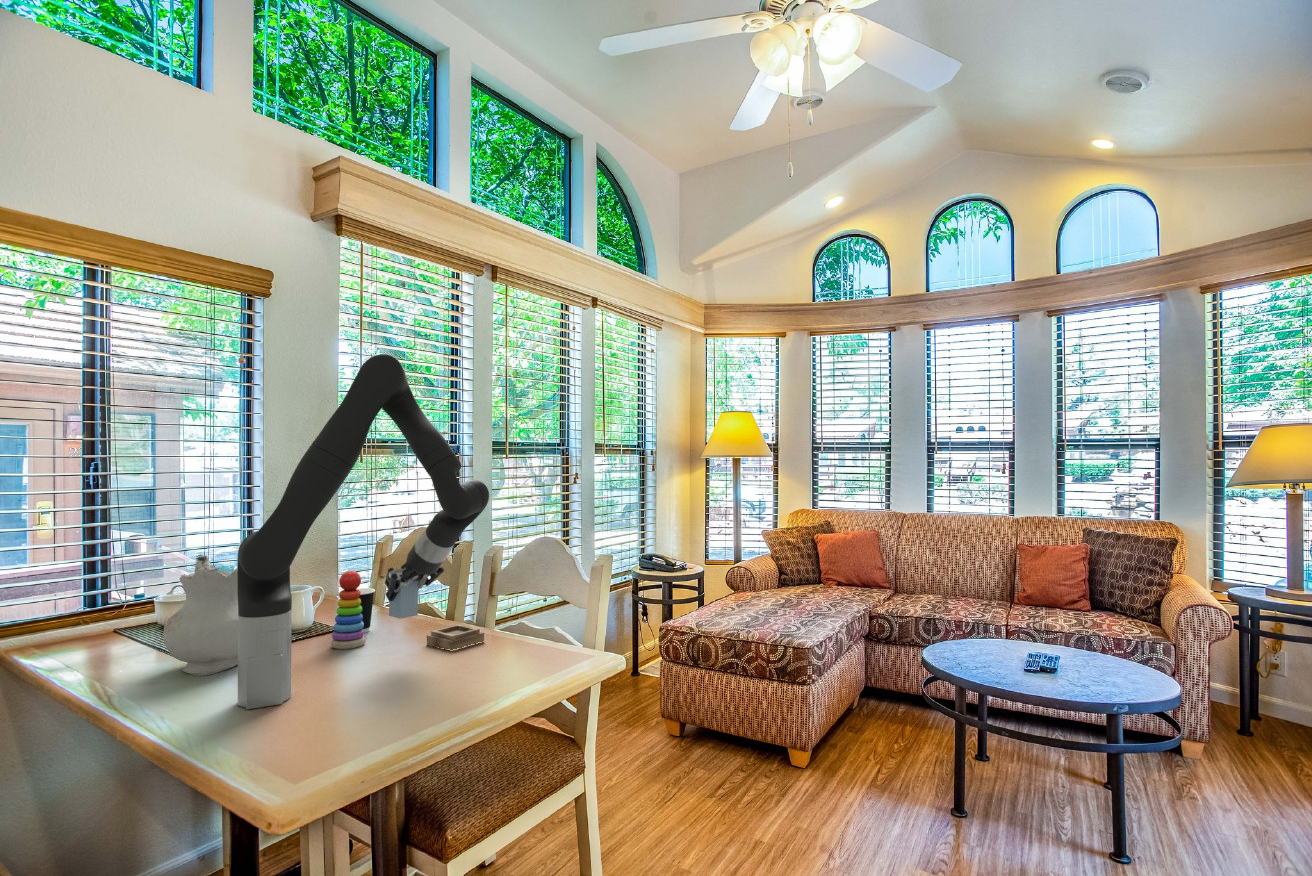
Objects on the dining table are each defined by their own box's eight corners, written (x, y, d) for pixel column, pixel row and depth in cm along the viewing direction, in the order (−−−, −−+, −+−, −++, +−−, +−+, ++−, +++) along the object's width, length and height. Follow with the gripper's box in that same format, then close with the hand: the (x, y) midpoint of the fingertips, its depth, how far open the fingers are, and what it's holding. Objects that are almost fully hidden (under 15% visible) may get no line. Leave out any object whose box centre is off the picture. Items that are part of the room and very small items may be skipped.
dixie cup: (377, 626, 194) (377, 587, 194) (372, 633, 186) (373, 592, 186) (346, 628, 192) (346, 588, 192) (341, 636, 184) (341, 594, 184)
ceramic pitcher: (142, 674, 156) (133, 565, 155) (229, 646, 173) (222, 547, 172) (197, 690, 146) (188, 573, 145) (284, 658, 163) (277, 553, 162)
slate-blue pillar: (417, 615, 161) (418, 572, 161) (400, 618, 157) (401, 574, 157) (406, 612, 163) (407, 570, 164) (388, 615, 160) (390, 572, 160)
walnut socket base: (484, 642, 177) (484, 628, 177) (451, 651, 169) (451, 637, 169) (459, 636, 183) (459, 623, 183) (426, 645, 175) (426, 631, 175)
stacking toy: (356, 650, 171) (357, 574, 171) (324, 650, 171) (325, 574, 171) (370, 641, 179) (371, 568, 179) (340, 641, 179) (340, 568, 179)
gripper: (451, 533, 162) (418, 580, 169) (396, 538, 151) (364, 588, 157) (465, 558, 159) (431, 604, 166) (410, 565, 147) (376, 614, 154)
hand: (398, 596), depth 161 cm, fingers closed on slate-blue pillar, 4 cm apart
